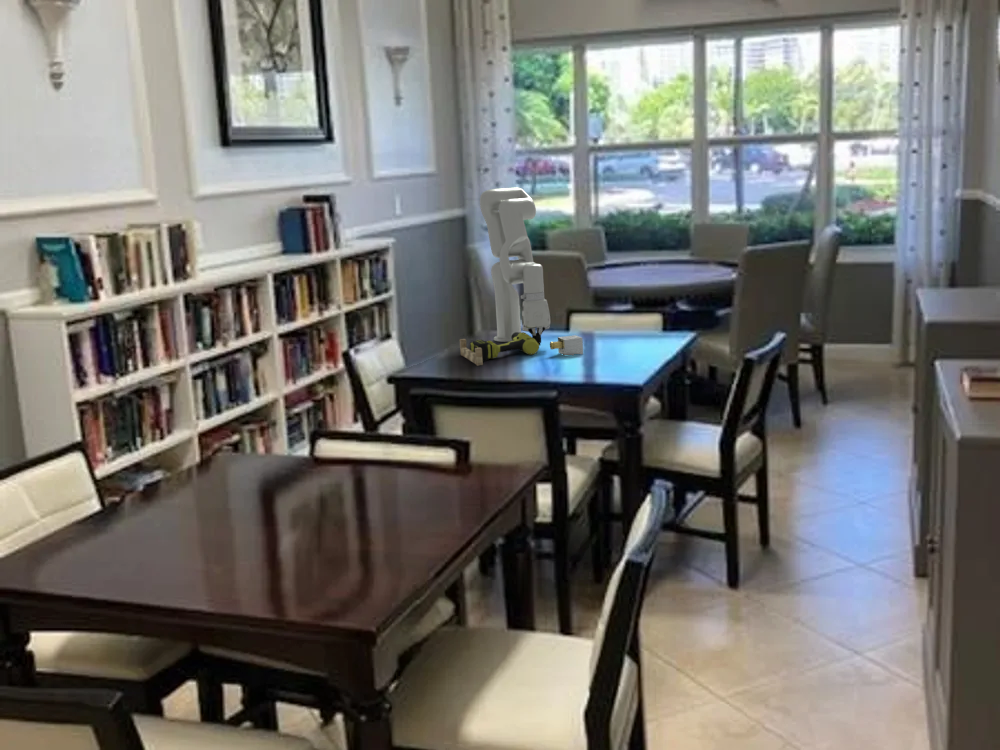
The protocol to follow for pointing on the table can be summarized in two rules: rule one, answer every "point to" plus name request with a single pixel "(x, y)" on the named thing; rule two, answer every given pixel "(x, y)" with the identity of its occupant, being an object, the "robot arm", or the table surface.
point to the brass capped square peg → (556, 345)
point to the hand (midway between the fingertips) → (537, 345)
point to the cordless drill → (506, 346)
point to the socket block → (571, 345)
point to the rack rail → (471, 353)
